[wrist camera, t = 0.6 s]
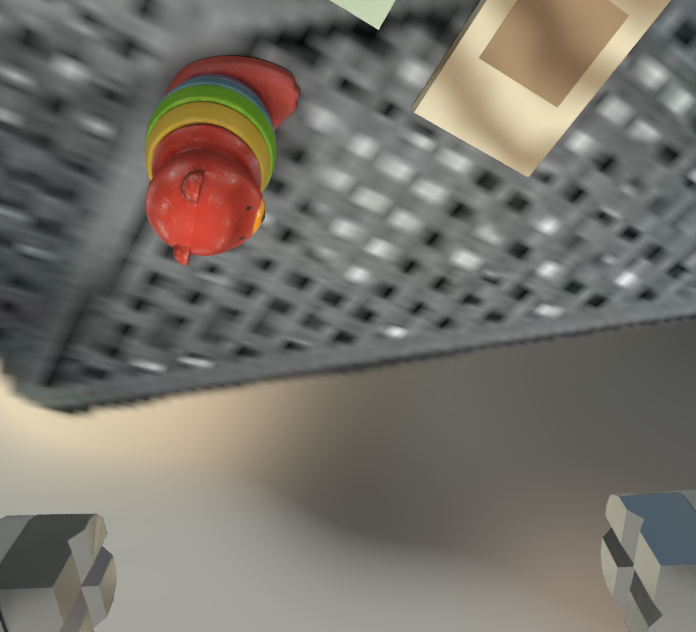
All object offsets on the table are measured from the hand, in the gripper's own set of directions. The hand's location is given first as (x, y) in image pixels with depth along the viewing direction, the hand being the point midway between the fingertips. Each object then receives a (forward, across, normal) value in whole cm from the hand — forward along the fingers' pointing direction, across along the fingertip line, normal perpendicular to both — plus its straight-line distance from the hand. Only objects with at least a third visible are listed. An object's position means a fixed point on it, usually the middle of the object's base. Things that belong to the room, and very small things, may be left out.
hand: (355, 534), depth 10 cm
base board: (+46, -16, -7) cm, 49 cm away
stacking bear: (+47, +10, -2) cm, 48 cm away
